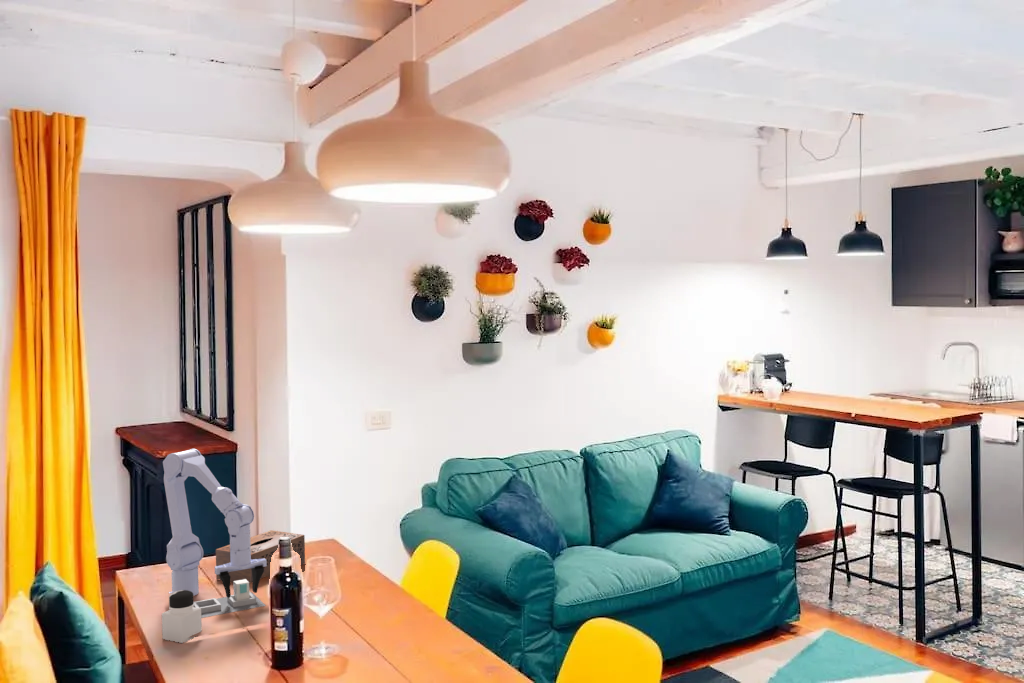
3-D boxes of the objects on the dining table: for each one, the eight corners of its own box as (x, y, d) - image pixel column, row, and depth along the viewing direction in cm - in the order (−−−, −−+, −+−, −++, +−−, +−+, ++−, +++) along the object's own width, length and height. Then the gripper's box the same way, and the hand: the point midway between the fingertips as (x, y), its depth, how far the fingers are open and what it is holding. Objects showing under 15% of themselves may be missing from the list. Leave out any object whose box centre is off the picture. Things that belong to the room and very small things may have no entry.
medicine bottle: (202, 634, 242) (201, 590, 241) (182, 643, 235) (181, 598, 234) (182, 630, 245) (181, 586, 244) (161, 639, 238) (160, 594, 237)
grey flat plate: (182, 608, 262) (182, 599, 262) (252, 595, 272) (252, 587, 272) (194, 622, 250) (193, 613, 250) (265, 609, 261) (265, 600, 260)
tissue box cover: (251, 586, 282) (250, 554, 281) (216, 580, 288) (215, 549, 288) (305, 564, 305) (304, 534, 304) (271, 558, 311) (271, 530, 311)
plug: (233, 601, 264) (233, 581, 264) (246, 599, 266) (245, 579, 266) (237, 605, 261) (237, 585, 261) (250, 603, 263) (249, 582, 262)
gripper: (218, 555, 256) (219, 602, 256) (269, 547, 263) (270, 593, 264) (212, 549, 262) (213, 595, 262) (262, 542, 269) (263, 586, 270)
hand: (241, 594), depth 264 cm, fingers open, 7 cm apart
